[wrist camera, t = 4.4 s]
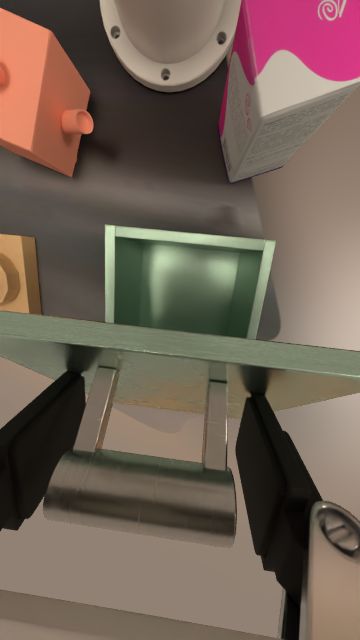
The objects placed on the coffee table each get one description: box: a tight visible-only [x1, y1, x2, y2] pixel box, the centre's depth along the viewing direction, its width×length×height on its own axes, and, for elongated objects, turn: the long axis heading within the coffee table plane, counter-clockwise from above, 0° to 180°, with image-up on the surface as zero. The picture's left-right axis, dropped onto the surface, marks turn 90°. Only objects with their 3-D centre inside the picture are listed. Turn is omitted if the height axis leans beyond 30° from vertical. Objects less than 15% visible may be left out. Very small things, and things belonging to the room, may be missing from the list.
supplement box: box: [218, 0, 360, 184], centre depth 17 cm, size 6×6×12 cm
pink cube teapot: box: [0, 8, 94, 177], centre depth 19 cm, size 8×12×8 cm, turn 68°
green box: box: [105, 225, 276, 339], centre depth 23 cm, size 15×13×10 cm
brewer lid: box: [0, 310, 360, 548], centre depth 12 cm, size 15×13×5 cm
